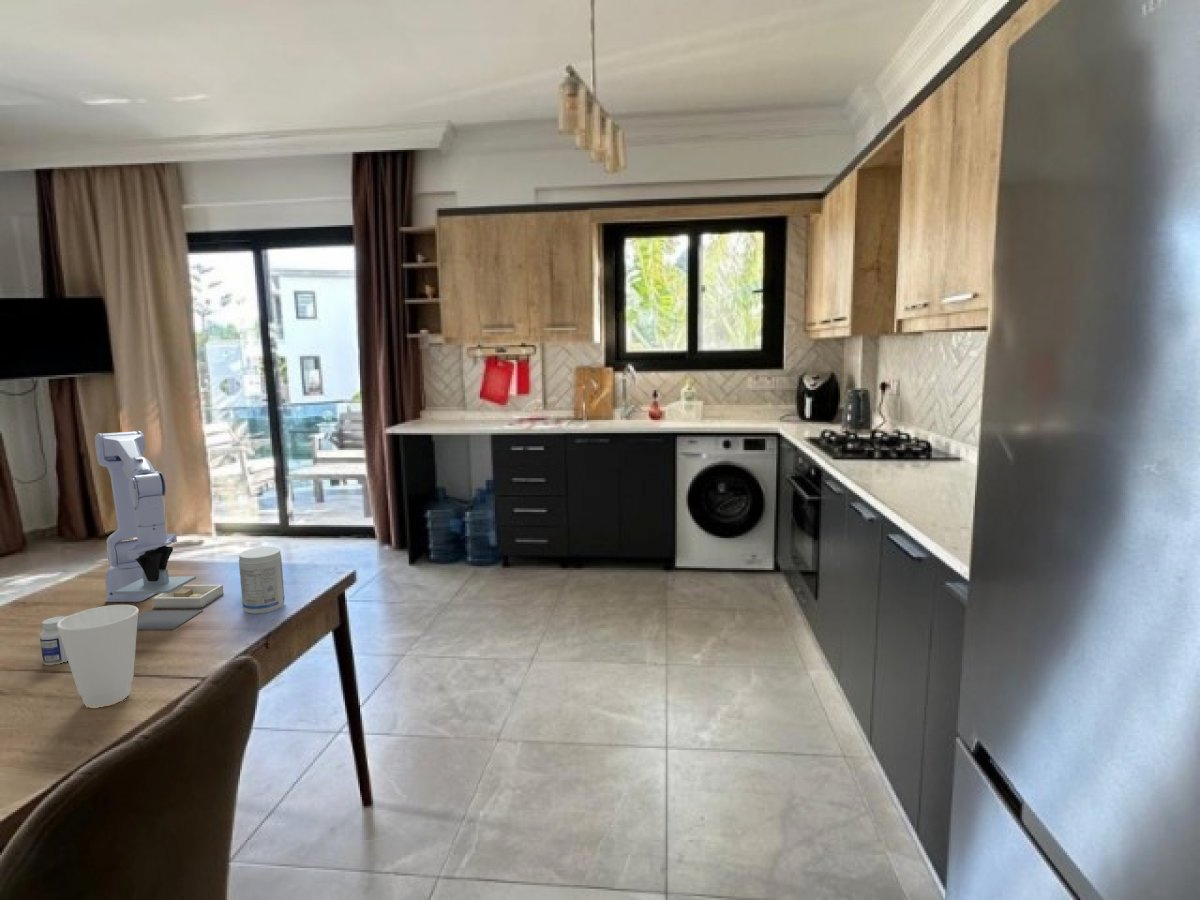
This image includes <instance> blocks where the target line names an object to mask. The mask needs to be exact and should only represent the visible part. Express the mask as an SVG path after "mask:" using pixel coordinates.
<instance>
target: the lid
mask: <svg viewBox="0 0 1200 900" xmlns="http://www.w3.org/2000/svg"><path fill="white" fill-rule="evenodd" d="M142 573H143V578H142V579H140V580H138V581H136V582H134V583H131V584H129V585H127V586H125V587H123V588H121V589H119V590H117V591H115V594H153V593H156V594H162V593H170V592H172V591H174V590H176V589H177V588H179V587H181V586H183V585H188V583H190V582H192V581H195V580H196V579H197V576H196V575H195V576H192V575H191V576H189V575H187V576H186V575H185V576H184V575H183V576H182V575H181V576H170V575H169V570H168V569H166V570H159V579H158V581H148V580H147V578H146V575H145V573H144V571H143V572H142Z"/></svg>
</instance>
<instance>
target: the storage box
mask: <svg viewBox="0 0 1200 900" xmlns="http://www.w3.org/2000/svg"><path fill="white" fill-rule="evenodd" d="M223 595H224V585H223V584H185V585H183V586H181V587H179V588H177V589H176V590H174V591H172V592H170V593H159V594H158V595H156V596H154V597H152V606H153V607H152V608H153V609H202V608H204V607H205V606H207V605H208V604H210V603H212V602H213V601H215V600H216V599H218V598H219V597H221V596H223ZM211 601H212V602H211ZM209 602H210V603H209ZM206 604H207V605H206ZM201 607H202V608H201Z"/></svg>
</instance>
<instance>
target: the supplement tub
mask: <svg viewBox="0 0 1200 900" xmlns="http://www.w3.org/2000/svg"><path fill="white" fill-rule="evenodd" d="M238 558H239V559H238V565H239V566H238V567H239V569H238V570H239V579H240V590H241V591H240V592H241V602H242V610H243V611H244V612H245V613H248V614H253V615H254V614H255V615H257V614H258V615H259V614H267V613H271V612H274V611H277V610H278V608H279V609H281V608H282V607H283V606H284V604H285V602H286V601H285V600H286V599H285V588H284V587H285V586H284V574H283V572H284V571H283V561H282V554H281V549H280V548H278V547H273V546H263V547H262V546H261V547H255V548H250V549H247V550H243V551H241V552H240V553H239V554H238ZM266 612H267V613H266Z"/></svg>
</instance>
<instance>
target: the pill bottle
mask: <svg viewBox="0 0 1200 900" xmlns="http://www.w3.org/2000/svg"><path fill="white" fill-rule="evenodd" d="M65 617H66V616H64V615H63V616H53V617H49V618H47V619H44V620H43V621H42V622H41V625H42V626H41V627H42V630H43V631H41V633H40V634H39V641H40V649H41V657H42V664H44V666H54V665H53V664H57V665H61V664H60V663H62V664H64V663H63V662H65V663H67V661H68V659H67V655H66V652H65V649H64V646H63V643H62V640H61V636H60V633H59V630H58V628H57V624H58V622H59V621H60V620H62V619H63V618H65Z"/></svg>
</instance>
